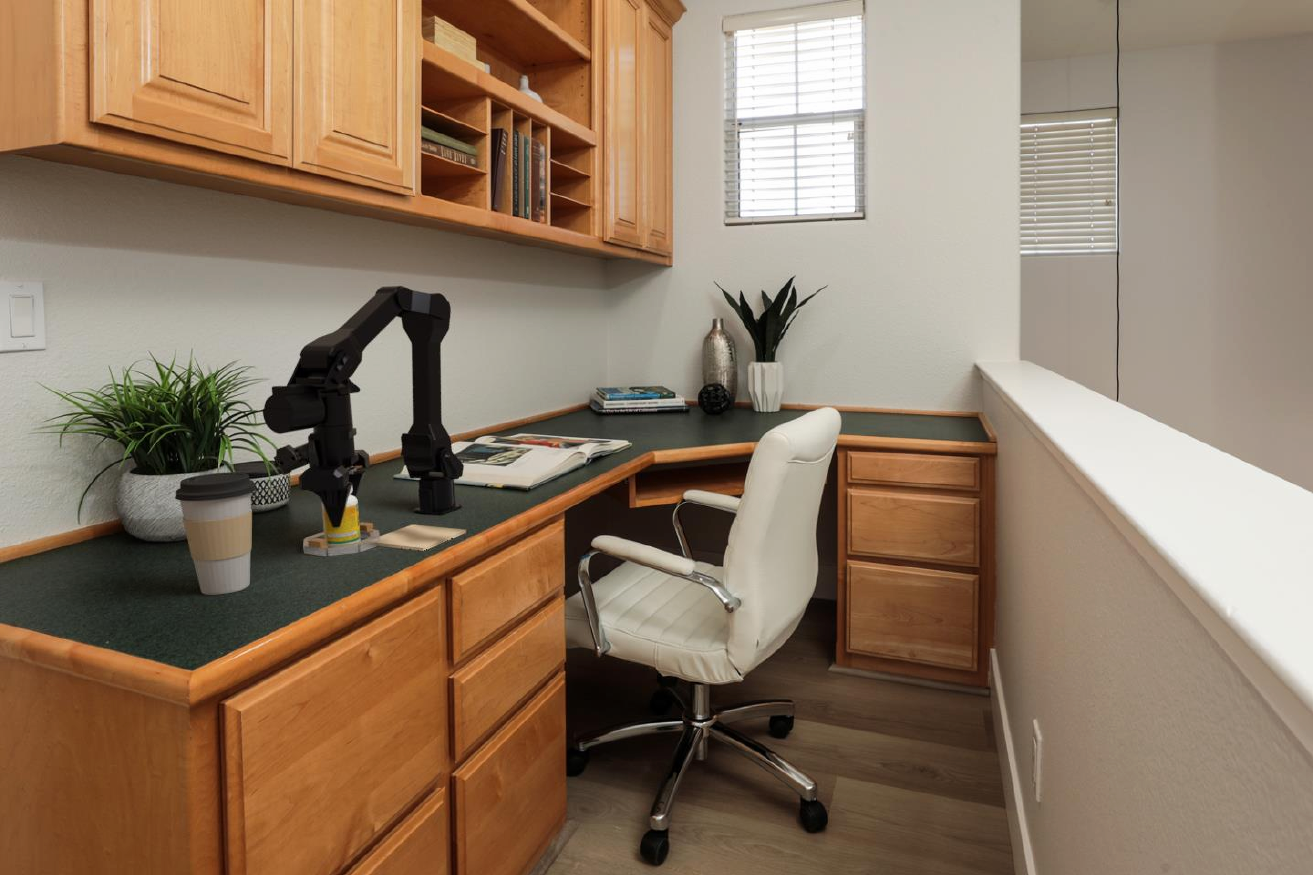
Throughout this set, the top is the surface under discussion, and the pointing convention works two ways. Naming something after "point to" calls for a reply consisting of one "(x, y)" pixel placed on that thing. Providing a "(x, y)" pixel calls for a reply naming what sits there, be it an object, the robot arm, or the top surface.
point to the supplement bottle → (343, 525)
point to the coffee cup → (219, 529)
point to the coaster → (418, 537)
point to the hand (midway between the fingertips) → (341, 522)
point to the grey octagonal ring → (321, 548)
